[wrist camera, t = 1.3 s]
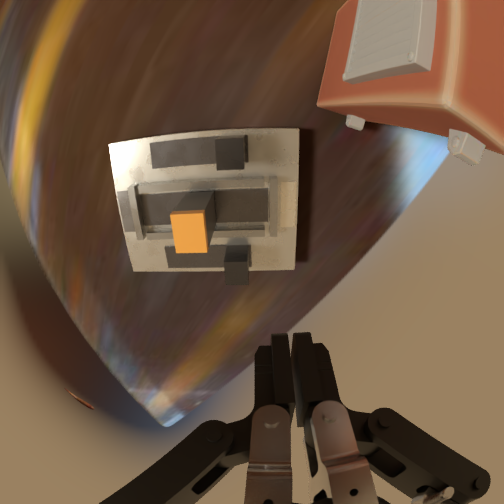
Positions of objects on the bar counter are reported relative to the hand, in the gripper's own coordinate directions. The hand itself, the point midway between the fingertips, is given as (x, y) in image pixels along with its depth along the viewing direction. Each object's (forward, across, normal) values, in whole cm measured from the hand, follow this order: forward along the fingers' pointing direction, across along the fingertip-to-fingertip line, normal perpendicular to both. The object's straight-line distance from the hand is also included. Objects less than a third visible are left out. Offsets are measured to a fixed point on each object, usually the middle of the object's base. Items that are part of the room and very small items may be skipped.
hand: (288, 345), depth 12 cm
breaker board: (+21, +7, 0) cm, 22 cm away
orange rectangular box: (+21, -9, -16) cm, 28 cm away
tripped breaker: (+18, +7, 0) cm, 20 cm away
